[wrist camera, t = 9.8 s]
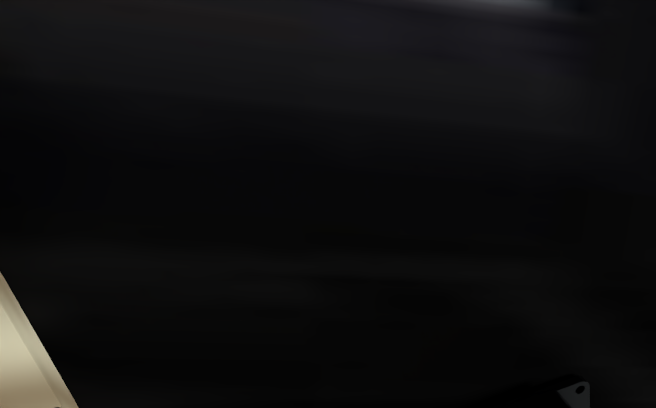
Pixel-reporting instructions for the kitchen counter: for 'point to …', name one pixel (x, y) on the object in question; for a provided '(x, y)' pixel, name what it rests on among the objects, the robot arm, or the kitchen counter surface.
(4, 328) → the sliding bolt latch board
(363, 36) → the kitchen counter surface
